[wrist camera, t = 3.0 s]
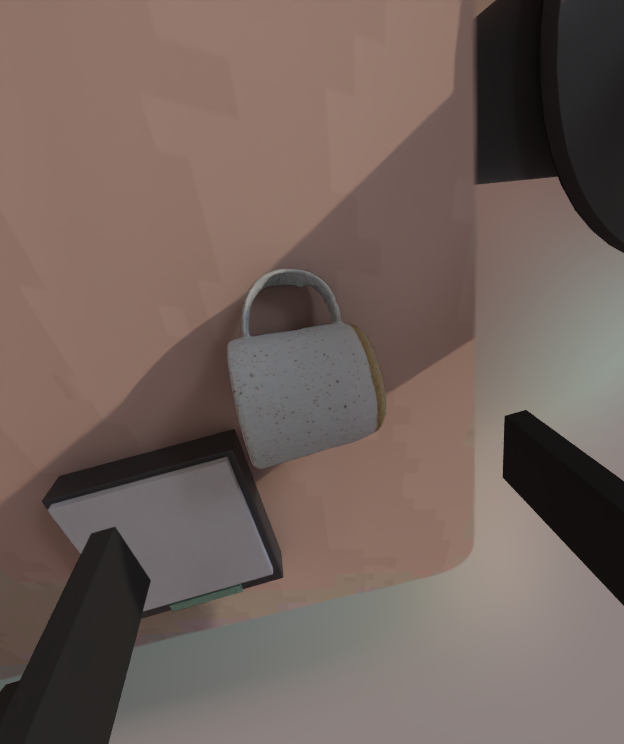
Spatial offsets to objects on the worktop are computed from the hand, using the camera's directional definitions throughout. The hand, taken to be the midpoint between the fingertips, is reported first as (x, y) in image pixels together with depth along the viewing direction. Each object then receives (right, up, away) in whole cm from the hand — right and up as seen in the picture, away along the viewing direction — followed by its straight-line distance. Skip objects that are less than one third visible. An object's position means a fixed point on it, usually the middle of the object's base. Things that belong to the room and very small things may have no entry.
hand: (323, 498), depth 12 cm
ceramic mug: (-2, +6, +13) cm, 14 cm away
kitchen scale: (-11, -8, +17) cm, 22 cm away
